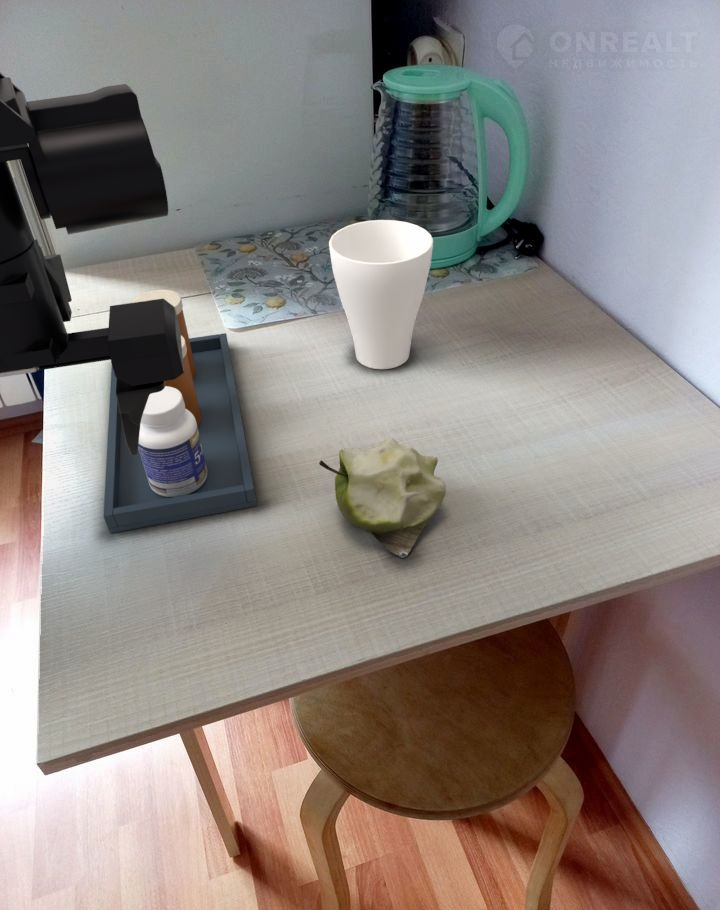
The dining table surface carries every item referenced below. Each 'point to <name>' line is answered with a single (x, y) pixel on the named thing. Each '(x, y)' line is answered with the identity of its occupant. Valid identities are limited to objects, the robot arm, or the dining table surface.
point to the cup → (381, 286)
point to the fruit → (388, 492)
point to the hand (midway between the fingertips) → (66, 462)
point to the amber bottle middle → (186, 386)
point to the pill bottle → (171, 445)
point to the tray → (221, 444)
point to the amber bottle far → (177, 303)
